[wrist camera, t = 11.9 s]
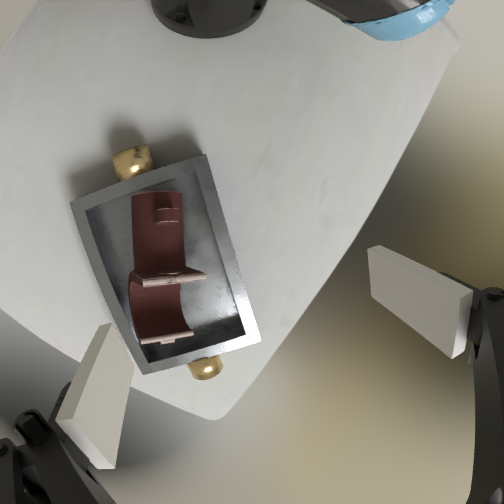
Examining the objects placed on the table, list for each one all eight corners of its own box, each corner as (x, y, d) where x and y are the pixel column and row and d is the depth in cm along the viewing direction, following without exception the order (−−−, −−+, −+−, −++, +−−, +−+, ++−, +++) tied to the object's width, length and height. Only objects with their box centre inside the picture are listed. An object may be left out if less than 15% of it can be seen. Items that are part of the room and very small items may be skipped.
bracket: (133, 343, 34) (154, 373, 25) (121, 203, 33) (138, 186, 25) (179, 336, 37) (213, 361, 29) (169, 202, 36) (201, 186, 28)
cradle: (75, 176, 31) (61, 176, 27) (197, 132, 33) (198, 126, 29) (154, 374, 40) (152, 393, 35) (260, 343, 41) (267, 360, 37)
